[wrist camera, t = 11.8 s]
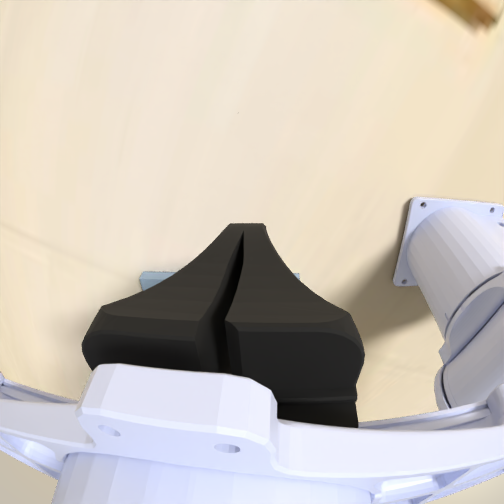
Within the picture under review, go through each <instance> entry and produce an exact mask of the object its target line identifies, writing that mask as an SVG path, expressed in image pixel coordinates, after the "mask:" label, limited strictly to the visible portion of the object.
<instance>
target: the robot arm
mask: <svg viewBox="0 0 504 504" xmlns="http://www.w3.org/2000/svg"><path fill="white" fill-rule="evenodd" d="M422 202H424V205H423V206H420V205H421V203H422ZM491 208H492V210H491V211H490V209H491ZM503 213H504V207H503V206H502V205H501V204H496V203H487V202H477V201H466V200H454V199H442V198H428V197H414V198H412V200H411V202H410V206H409V211H408V216H407V221H406V226H405V231H404V235H403V240H402V244H401V249H400V253H399V257H398V261H397V265H396V269H395V273H394V277H393V283H394V285H395V286H419V288H420V290H421V292H422V294H423V296H424V298H425V300H426V302H427V304H428V306H429V308H430V310H431V312H432V314H433V316H434V318H435V321H436V323H437V325H438V327H439V329H440V331H441V334H442V336H443V338H444V340H445V343H444V345H443V346H442V347H441V349H440V350H439V354H440V356H441V359H442V361H443V364H444V365H443V366H442V367H441V368H440V369H439V371H438V372H437V374H436V377H435V382H434V391H435V397H436V403H437V406H438V409H439V411H435V412H430V413H424V414H419V415H413V416H406V417H400V418H392V419H385V420H376V421H367V422H358V417H357V411H356V404H355V401H356V400H357V390H356V383H357V380H358V378H359V375H360V372H361V369H362V366H363V364H364V357H365V353H364V347H363V344H362V340H361V338H360V335H359V333H358V330H357V328H356V326H355V323H354V321H353V319H352V317H351V315H350V314H349V313H348V312H346V311H344V310H343V309H341V308H339V307H337V306H335V305H333V304H331V303H329V302H327V301H326V300H324V299H323V298H321V297H320V296H318V295H317V294H315V293H314V292H313V291H311V290H310V289H309V288H308V287H307V286H305V285H304V284H303V283H302V282H301V281H300V280H299V279H298V278H297V277H296V276H295V275H294V274H293V273H292V272H291V271H290V269H289V268H288V267H287V266H286V264H285V263H284V262H283V260H282V259H281V258H280V256H279V255H278V253H277V251H276V250H275V248H274V246H273V244H272V243H271V241H270V238H269V236H268V234H267V231H266V226H265V225H264V224H263V223H235V224H229V225H228V226H227V227H226V228H225V229H224V230H223V231H222V232H221V234H220V235H219V236H218V237H217V238H216V239H215V240H214V241H213V242H212V243H211V244H210V245H209V246H208V247H207V248H206V249H205V250H204V251H203V252H202V253H201V254H200V255H198V256H197V257H196V258H195V259H194V260H193V261H191V262H190V263H189V264H188V265H186V266H185V267H184V268H182V269H181V270H179V271H178V272H176V273H175V274H173V275H172V276H170V277H168V278H166V279H165V280H163V281H161V282H160V283H158V284H156V285H154V286H152V287H150V288H148V289H146V290H144V291H142V292H139V293H137V294H135V295H133V296H130V297H127V298H125V299H122V300H119V301H116V302H113V303H110V304H107V305H104V306H102V307H101V308H100V310H99V312H98V313H97V315H96V317H95V318H94V320H93V322H92V324H91V326H90V328H89V330H88V331H87V333H86V335H85V337H84V340H83V342H82V352H83V355H84V357H85V359H86V361H87V363H88V365H89V367H90V368H91V370H92V372H91V374H90V377H89V379H88V381H87V383H86V386H85V388H84V390H83V393H82V395H81V397H80V400H79V401H76V400H72V399H68V398H65V397H61V396H57V395H54V394H50V393H47V392H44V391H40V390H37V389H34V388H31V387H28V386H25V385H22V384H19V383H16V382H13V381H11V380H8V379H5V378H4V376H3V374H2V373H1V372H0V450H1V451H3V452H5V453H6V454H8V455H10V456H12V457H14V458H15V459H17V460H19V461H21V462H23V463H25V464H26V465H28V466H30V467H33V468H34V469H36V470H38V471H40V472H42V473H44V474H46V475H48V476H50V477H53V478H55V479H57V480H58V483H57V486H56V490H55V493H54V496H53V499H52V503H51V504H424V503H427V502H430V501H433V500H436V499H439V498H442V497H445V496H448V495H451V494H454V493H456V492H459V491H462V490H464V489H467V488H469V487H472V486H474V485H477V484H480V483H482V482H484V481H487V480H489V479H492V478H494V477H496V476H499V475H501V474H503V473H504V219H503V218H502V216H503ZM404 279H406V280H405V281H403V280H404Z"/></svg>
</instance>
